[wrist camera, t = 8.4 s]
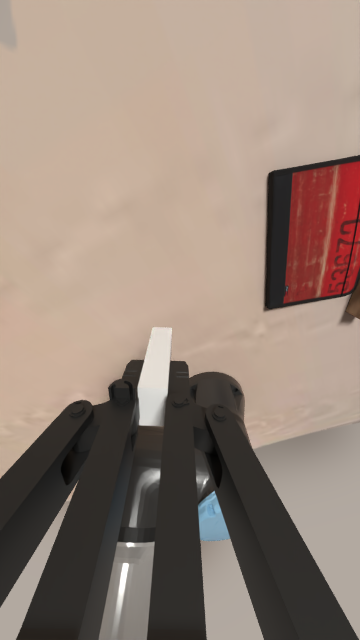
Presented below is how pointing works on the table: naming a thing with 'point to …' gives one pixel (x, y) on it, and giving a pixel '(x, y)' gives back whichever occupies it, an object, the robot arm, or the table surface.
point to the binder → (313, 232)
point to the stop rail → (355, 302)
